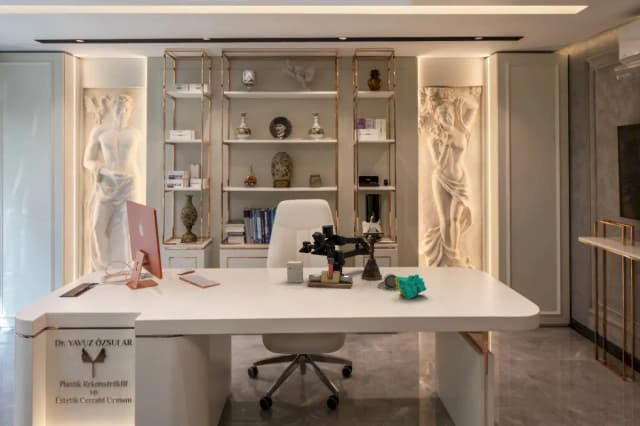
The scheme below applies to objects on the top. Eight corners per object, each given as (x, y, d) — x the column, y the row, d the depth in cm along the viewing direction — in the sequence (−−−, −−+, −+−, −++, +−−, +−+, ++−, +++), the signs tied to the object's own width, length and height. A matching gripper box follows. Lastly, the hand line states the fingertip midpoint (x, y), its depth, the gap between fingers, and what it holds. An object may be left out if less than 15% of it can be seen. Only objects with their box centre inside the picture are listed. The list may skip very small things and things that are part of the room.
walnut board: (311, 282, 260) (311, 279, 260) (352, 283, 257) (352, 280, 257) (307, 286, 248) (307, 284, 248) (350, 288, 245) (350, 285, 245)
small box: (303, 280, 264) (303, 261, 263) (302, 282, 259) (302, 263, 258) (288, 280, 265) (288, 260, 264) (287, 282, 259) (286, 262, 259)
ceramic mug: (397, 285, 251) (397, 271, 251) (399, 289, 244) (398, 274, 243) (377, 286, 252) (377, 271, 251) (378, 289, 244) (378, 274, 243)
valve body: (310, 280, 256) (310, 270, 256) (352, 282, 253) (352, 271, 253) (308, 282, 252) (308, 271, 252) (351, 283, 249) (351, 273, 248)
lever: (328, 278, 254) (328, 257, 253) (333, 279, 253) (333, 258, 252) (327, 279, 252) (327, 258, 251) (333, 279, 251) (333, 258, 250)
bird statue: (386, 282, 259) (387, 216, 257) (361, 282, 260) (362, 216, 258) (384, 276, 276) (385, 214, 273) (361, 275, 277) (361, 214, 274)
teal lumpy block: (392, 278, 237) (416, 266, 236) (403, 300, 235) (427, 288, 234) (392, 278, 223) (418, 266, 222) (404, 302, 221) (430, 290, 220)
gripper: (311, 229, 276) (291, 236, 265) (336, 232, 262) (315, 239, 252) (314, 248, 278) (293, 256, 267) (338, 252, 265) (318, 260, 254)
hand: (305, 252), depth 260 cm, fingers open, 9 cm apart
